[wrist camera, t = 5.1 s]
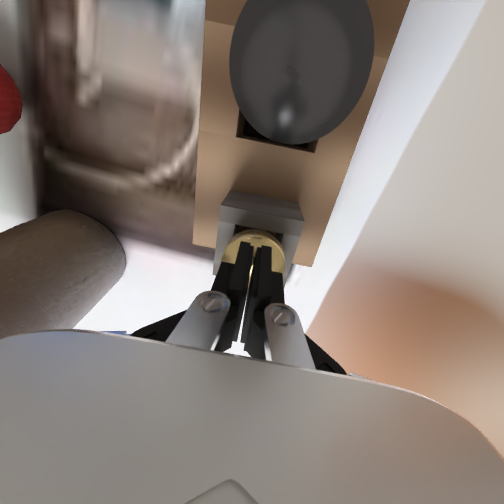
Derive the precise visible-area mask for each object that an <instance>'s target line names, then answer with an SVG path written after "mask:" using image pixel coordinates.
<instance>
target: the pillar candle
mask: <svg viewBox="0 0 504 504" xmlns="http://www.w3.org/2000/svg"><path fill="white" fill-rule="evenodd" d="M125 266H126V259H125V254H124V251H123V249H122V247H121V244H120V243H119V241H118V240H117V239H116V237H115V236H114V235H113V234H112V233H111V232H110V231H109V230H108V229H107V228H106V227H105V226H104V225H102V224H101V223H100V222H98V221H97V220H95V219H93V218H91V217H89V216H86V215H84V214H82V213H80V212H77V211H73V210H68V209H65V210H63V209H59V210H54V211H53V212H48V213H46V214H45V215H43V216H41V217H38V218H36V219H33V220H31V221H28V222H26V223H22V224H20V225H17V226H14V227H13V228H10V229H8V230H6V231H4V232H2V233H0V339H2V338H5V337H8V336H12V335H16V334H20V333H26V332H32V331H40V330H49V329H72V328H73V327H74V326H75V325H76V324H77V323H78V322H79V321H80V320H81V319H82V318H83V317H84V316H85V315H86V314H87V313H88V312H89V311H90V310H91V309H92V308H93V307H94V306H95V305H96V304H97V303H98V302H99V301H100V300H101V299H102V297H103V296H104V295H105V294H106V293H107V292H108V291H109V290H110V289H111V288H112V287H113V286H114V285H115V284H116V283H117V282H118V281H119V279H120V278H121V277H122V275H123V273H124V270H125Z"/></svg>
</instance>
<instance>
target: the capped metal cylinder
mask: <svg viewBox="0 0 504 504" xmlns="http://www.w3.org/2000/svg"><path fill="white" fill-rule="evenodd" d="M374 45H375V44H374V28H373V21H372V17H371V13H370V9H369V6H368V4H367V2H366V0H247V2H246V3H245V5H244V7H243V9H242V11H241V13H240V15H239V17H238V20H237V22H236V25H235V28H234V32H233V36H232V39H231V46H230V54H229V72H230V80H231V86H232V90H233V94H234V97H235V99H236V102H237V105H238V107H239V109H240V110H241V112H242V114H243V116H244V117H245V118H246V120H247V121H248V122H249V124H250V125H251V126H252V127H253V128H254V129H255V130H257V131H258V132H259V133H260V134H262V135H263V136H265V137H266V138H269V139H271V140H273V141H276V142H279V143H284V144H303V143H308V142H311V141H315V140H317V139H319V138H321V137H323V136H325V135H327V134H328V133H330V132H331V131H333V130H334V129H335V128H336V127H338V126H339V125H340V124H341V123H342V122H343V121H344V120H345V119H346V118H347V117H348V115H349V114H350V113H351V112H352V110H353V109H354V107H355V106H356V104H357V103H358V101H359V99H360V97H361V96H362V94H363V92H364V89H365V87H366V84H367V82H368V79H369V75H370V72H371V68H372V63H373V57H374Z"/></svg>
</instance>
